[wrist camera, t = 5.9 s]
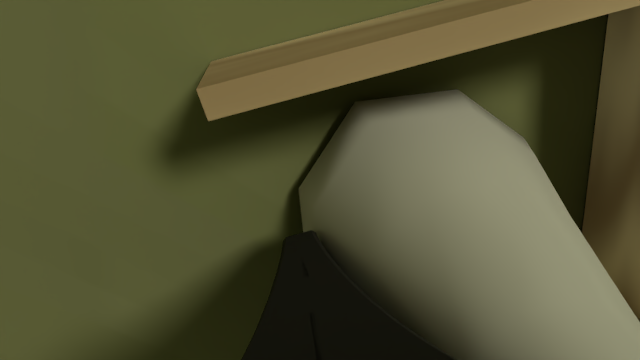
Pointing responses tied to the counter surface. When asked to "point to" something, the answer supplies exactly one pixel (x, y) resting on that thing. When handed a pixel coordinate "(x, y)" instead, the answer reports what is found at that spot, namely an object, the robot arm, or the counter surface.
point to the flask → (462, 234)
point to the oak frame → (455, 38)
